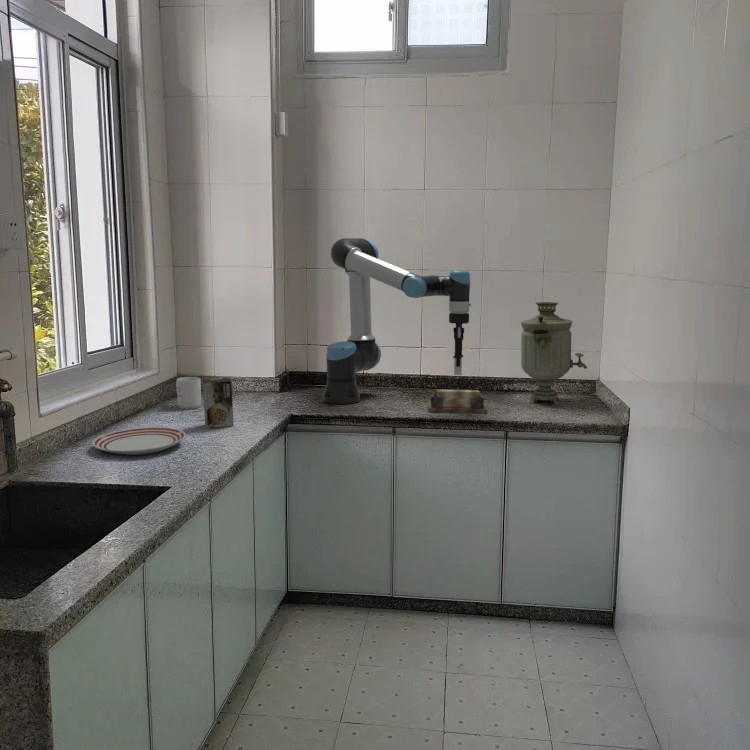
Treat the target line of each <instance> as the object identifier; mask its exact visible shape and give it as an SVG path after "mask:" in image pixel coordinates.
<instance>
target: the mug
mask: <svg viewBox="0 0 750 750" xmlns="http://www.w3.org/2000/svg"><path fill="white" fill-rule="evenodd" d="M175 384H176V385H175V386H176V395H177V406H178V407H179V408H180V409H182V410H194V409H199V408H200V407H201V405H202V386H201V384H202V381H201V377H199V376H184V377H178V378H176V380H175Z"/></svg>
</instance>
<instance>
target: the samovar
mask: <svg viewBox="0 0 750 750" xmlns="http://www.w3.org/2000/svg"><path fill="white" fill-rule="evenodd" d="M535 304H536V305H537V311H538V312H539V314H536V315H535V316H534V317H533V318H530V319H525V320H522V321H521V322H520V324H521V327H522V331H521V341H520V342H521V346H520V347H521V349H520V351H521V357H520V359H521V364H520V365H521V368H522V370H523V372H524V373H525V374H527V375H528V376H529V377H530V378H531V379H534V380H535V381H536V383H535V385H536V386H538V388H537V389H535V390H534V391H533V392H531V395H530V397H529V398H530V399H531V400H529V401H528V403H529V404H534V403H535V402H536V401H538V400H540V401H550V402H552V403H553V405H554V406H555V405H556V406H559V405H560V404H559V402H558V400H560V398H559V395H558V393H557V392H555V390H553V389H552V387H553V386H554V385H555V380H558V379H561V378H562V377H563V376H564V375H567V373H569V371H570V369H573V368H574V366H577V367H578V368H583V369H584V370H587V369H588V366H587V365H586V364H585V363H584V362H583V361H582V360H581V358H582V357H584V354H583V353H580V352H577V353H575V354H574V355H575V357H578V361H577V362H574V360H573V359H572V331H571V328H572V324H573V320H570V319H568V318H567V319H566V318H563V317H560V315H557V314H555V312H556V310H557V308H556V307H557V305H559V302H556V301H555V302H553V301H539V302H537V301H536V302H535Z"/></svg>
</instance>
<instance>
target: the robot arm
mask: <svg viewBox="0 0 750 750" xmlns="http://www.w3.org/2000/svg"><path fill="white" fill-rule="evenodd" d="M330 258H331V261H332V262H333V263H334V265H335V266H338V267H339V268H341V269H343V270H344V273H345V274H346V275H347V276H348V284H349V286H348V287H349V316H350V317H349V318H350V319H349V320H350V335H349V337H348V338H347V340H346V341H336V342H333V343H330V344H329V345H328V346H327V348H326V385H325V387H324V390H323V394H322V402H324V403H326V404H330V405H350V404H356V403H359V402H360V401H361V394H360V390H359V388H358V385H357V373H358V372H362V371H363V372H364V371H365V372H366V371H369V370H371V369H373V368H376V366H378V364H379V363H380V361H381V358H382V350H381V347H380V346H379V345H378V343H376V337H375V336H374V335H373V334H372V307H371V306H372V305H371V304H372V303H371V279H373V280H376V281H378V282H380V283H383V284H385V285H387V286H391V287H392V288H395V289H397V290H399V291H402V292H403V293H404V294H405V296H406V297H408V298H413V299H418V298H425V297H434V296H435V297H436V296H439V297H445V296H446V297H449V299H448V300H449V301H448V311H449V312H450V313H448V323H450V324H455V327H453V331H452V332H453V339H454V352H453V354H454V356H453V355H452V358H453V359H454V364H453V365H454V370H453V374H454V376H462V367H463V366H462V365H463V361H462V360H463V358H464V355H463V341H464V335H465V328H464V327H463V324H465V325H466V324H469V323H470V313H469V312H470V307H471V306H472V303H470V294H471V293H470V292H471V291H470V290H471V274H470V271H469V270H451V271H450V272H449V275H434V274H431V275H430V274H429V275H423V276H421V275H419V274H415V273H414V272H411V271H408V270H406V269H404V268H401V267H399V266H396V265H394V264H391V263H389V262H387V261H384V260H382V259H379V249H378V247H377V246H376V244H375V243H374V242H373V241H372V240H371V239H366V238H361V237H359V238H357V237H356V238H349V237H345V238H344V237H343V238H340V239H337V241H335V242H334V243H333V244H332V246H331V248H330Z"/></svg>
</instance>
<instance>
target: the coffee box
mask: <svg viewBox="0 0 750 750" xmlns="http://www.w3.org/2000/svg"><path fill="white" fill-rule="evenodd" d="M202 383H203V384H202V385H203V386H202V388H203V390H202V392H203V405H204V406H203V409H204V425H205V427H206V426H207V427H206V428H207V429H210V428H209V427H217V428H224V427H234V412H233V411H234V410H233V409H234V408H233V386H232V380H231V379H230V378H229V377H222V378H221V377H220V378H219V377H218V378H205V379H203V380H202Z"/></svg>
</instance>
